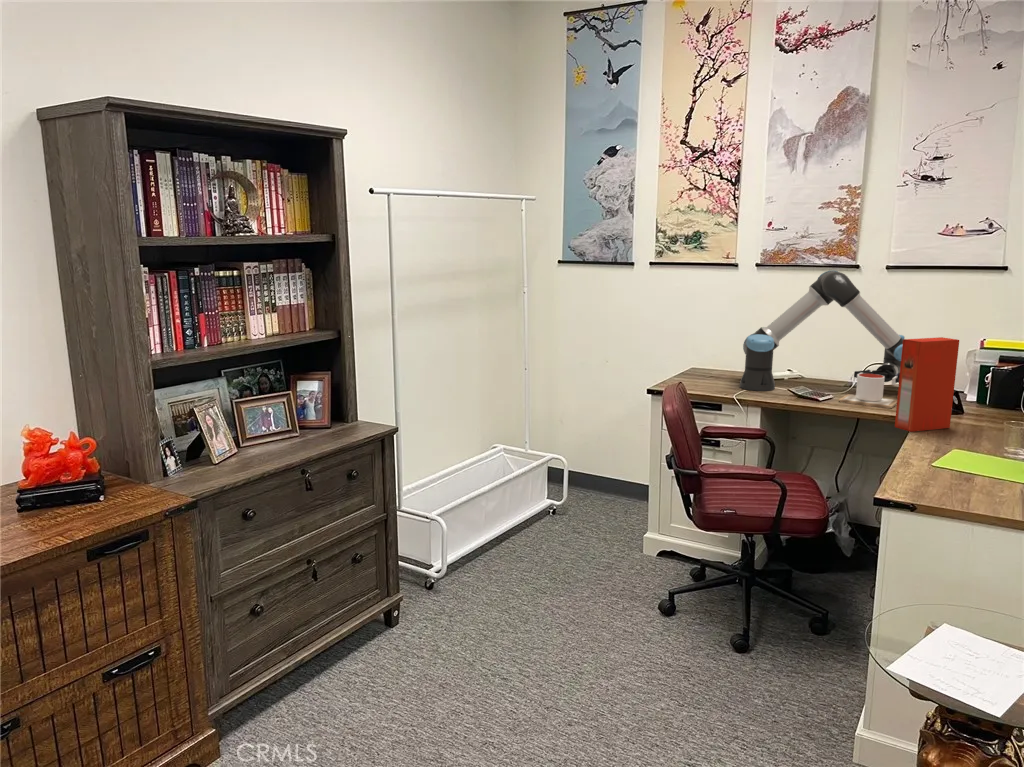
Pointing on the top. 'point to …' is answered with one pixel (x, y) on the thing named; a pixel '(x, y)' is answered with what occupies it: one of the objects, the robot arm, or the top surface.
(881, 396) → the cup
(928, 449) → the top surface
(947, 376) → the file binder
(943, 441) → the top surface
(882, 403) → the writing board
